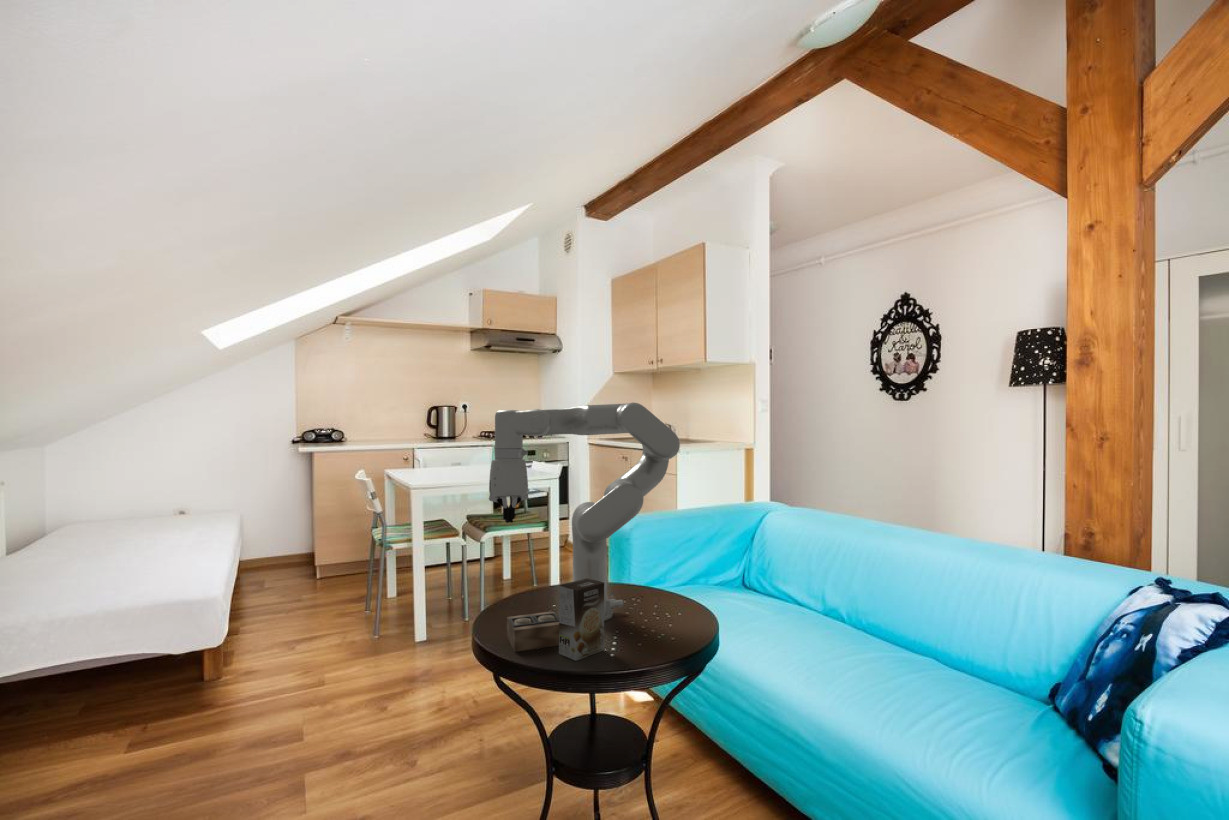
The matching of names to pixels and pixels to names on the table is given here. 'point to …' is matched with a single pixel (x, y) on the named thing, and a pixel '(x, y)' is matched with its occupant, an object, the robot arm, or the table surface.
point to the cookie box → (581, 618)
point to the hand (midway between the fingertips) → (508, 521)
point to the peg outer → (522, 621)
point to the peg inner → (546, 618)
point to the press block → (533, 632)
